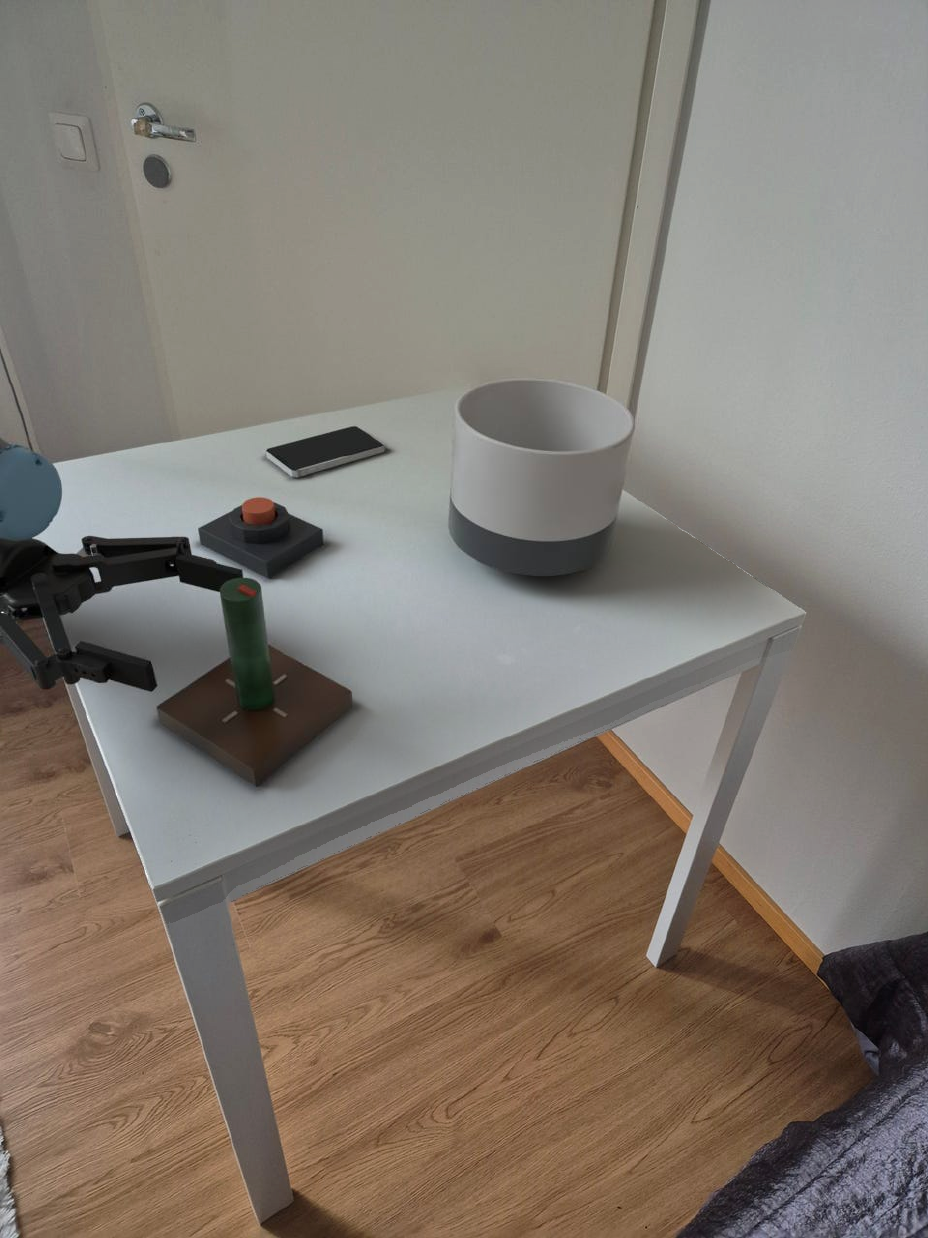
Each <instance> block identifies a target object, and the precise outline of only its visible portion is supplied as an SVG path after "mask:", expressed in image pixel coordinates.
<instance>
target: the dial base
mask: <svg viewBox="0 0 928 1238" xmlns="http://www.w3.org/2000/svg"><path fill="white" fill-rule="evenodd" d="M268 648H269V656H270V665H271V673H272V681H273V689H274V700H273V702H272V703H271V704H270V705H269V706H267V707H266V708H264V709H261V710H255V711H252V710H246V709H244V708H242V707H241V706H240V705H239V704H238V701H237V696H236V690H235V683H234V677H233V671H232V665H231V659H230V656H229V657H228V658H227V659H225V660H224V661H222V662H220V663H219V664H218V665H216V666H214V667H213V668H212V669H210V670H209V671H207V672H206V673H204V674H202V675H201V676H200V677H198V678H197V679H195V680H194V681H192V682H190V683H189V684H188V685H187V686H185V687H183V688H182V689H180V690H179V691H177V692H176V693H174V694H173V695H171V696H170V697H169V698H167V699H165V700H164V701H162V702H161V703H160V704H158V705H157V706H156V711H157V716H158V720H159V723H160V724H161V725H163V726H164V727H166V728H167V729H169V730H170V731H172V732H173V733H175V734H176V735H177V736H179V737H181V738H182V739H184V740H185V741H187V742H188V743H190V744H191V745H192V746H194V747H196V748H197V749H199V750H200V751H202V752H203V753H204V754H206V755H207V756H209V757H210V758H212V759H213V760H214V761H217V762H218V763H220V764H221V765H223V766H224V767H226V768H227V769H229V770H230V771H231V772H233V773H235V774H236V775H237V776H239V777H241V778H242V779H244V780H245V781H247V782H248V783H249V784H251V785H252V786H254V787H258V786H259V785H261V784H262V783H263V782H264V781H266V780H267V779H268V778H269V777H270V776H272V775H273V773H275V772H276V771H278V769H280V768H281V767H282V766H283V765H284V764H286V763H287V762H288V761H289V760H290V759H291V758H293V757H294V756H295V755H296V754H297V753H299V752H300V751H301V750H302V749H304V748H305V747H306V746H307V745H308V744H309V743H311V742H312V741H313V740H314V739H316V737H318V736H319V735H320V734H322V733H323V732H324V731H325V730H327V728H329V727H330V726H331V725H332V724H334V723H335V722H336V721H337V720H338V719H339V718H341V716H343V715H344V714H345V713H347V711H348V710H350V709H351V708H352V707H353V691H352V690H351V689H349V688H347V687H346V686H344V685H342V684H340V683H338V682H337V681H335V680H334V679H332V678H330V677H329V676H326V675H324V674H322V673H321V672H319V671H317V670H315V669H313V668H312V667H310V666H308V665H306V664H304V663H303V662H301V661H299V660H298V659H296V658H294V657H292V656H290V655H288V654H287V653H285V652H283V651H282V650H280V649H278V648H276V647H274V646H272V645H271V644H269V643H268Z"/></svg>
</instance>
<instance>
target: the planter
mask: <svg viewBox="0 0 928 1238" xmlns="http://www.w3.org/2000/svg"><path fill="white" fill-rule="evenodd" d="M453 411H454V412H453V432H452V449H451V468H450V485H449V486H450V488H449V507H448V524H447V525H448V531H449V532H448V533H449V534H450V537H451V539H452V541H453V542H454V544H455V545H456V546H457V547H458V548H459V550H461V551H462V552H463V553H464V554H465V555H467V556H469V557H470V558H471V559H473V560H475V561H477V562H479V563H481V564H482V565H486V566H488V567H490V568H493V569H495V570H498V571H502V572H505V573H510V574H515V575H522V576H532V577H554V576H555V577H556V576H563V575H569V574H573V573H578V572H580V571H584V570H586V569H589V568H590V567H593V566H595V565H596V564H597V563H599V562H601V560H602V559H603V558H605V556H606V555H607V554H608V552H609V551H610V549H611V547H612V543H613V538H614V533H615V529H616V523H617V519H618V514H619V509H620V504H621V498H622V493H623V489H624V484H625V478H626V475H627V469H628V464H629V460H630V455H631V450H632V445H633V439H634V435H635V429H636V421H635V418H634V416H633V414H632V413H631V411H630V410H629V408H628V407H626V405H624V404H623V403H622V402H620V401H619V400H618V399H616V398H614V397H613V396H611V395H609V394H606V393H605V392H602V391H599V390H597V389H594V388H592V387H589V386H585V385H582V384H579V383H574V382H569V381H564V380H557V379H551V378H537V377H519V378H518V377H516V378H515V377H514V378H505V379H504V378H503V379H499V380H492V381H487V382H484V383H481V384H478V385H475V386H474V387H471V388H470V389H468V390H466V391H464V393H462V394H461V395H460V396H459V397H458V399H457V400H456V402H455V404H454V410H453Z"/></svg>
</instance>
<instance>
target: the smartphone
mask: <svg viewBox="0 0 928 1238" xmlns="http://www.w3.org/2000/svg"><path fill="white" fill-rule="evenodd" d="M385 447H386V446H385V443H383V442H382V441H380V440H379V439H377V438H375V436H373V435H371V434H369V433H367V432H366V431H365V430H363V429H362V428H360V427H358V426H357V425H352V426H348V427H344V428H340V429H336V430H333V431H329V432H325V433H322V434H318V435H314V436H310V437H306V438H302V439H299V440H295V441H290V442H287V443H283V444H279V445H276V446H273V447H269V448H266V450H265V456H266V458H267V459H268V460H270V461H271V462H272V463H274V464H275V465H276V466H277V467H279V468H280V469H281V470H282V471H284V472H285V473H286V474H288V475H289V476H290V477H291V478H299V477H304V476H306V475H310V474H314V473H317V472H320V471H323V470H327V469H330V468H335V467H337V466H342V465H344V464H348V463H351V462H354V461H358V460H362V459H365V458H369V457H371V456H374V455H375V456H376V455H379V454H381V453H384V452H385V450H386V449H385Z"/></svg>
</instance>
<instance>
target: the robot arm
mask: <svg viewBox="0 0 928 1238" xmlns="http://www.w3.org/2000/svg"><path fill="white" fill-rule="evenodd" d="M62 498H63V486H62V480H61V476H60V474H59V472H58V469H57V468H56V467H55V464H53V463H52V461H51V460H49V458H47V457H46V456H44V455H42V454H41V453H38V452H35V451H33V450H30V449H29V448H28V447H25V446H24V445H21V444H15V443H14V444H13V443H12V444H10V443H9V442H7V441H6V440H4V439H3V438H2V437H0V645H2V646H4V647H5V648H6V649H7V650H8V651H9V653H10V654H11V655H12V656H13V657H14V658H15V660H16V661H17V663H18V664H19V665H20V666H21V667H22V669H24V671H25V672H26V673H27V674H28V675H29V676H30V678H31V679H32V680H33V681H34V682H35V684H36V685H37V686H38V687H39V688H40V689H41V690H44V691H46V690H51V689H53V688H54V687H55V686H56V685H57V681H58V680H60V679H61V678H63V681H64V683H65V684H67V685H76V684H77V683H79V682H80V681H81V679H84V680H88V681H91V682H93V683H98V684H107V683H108V682H109V681H112V682H116V683H119V684H122V685H125V686H129V687H133V688H136V689H139V690H143V691H146V692H148V693H153V692H154V691H155V690H156V689H157V687H158V683H157V677H156V674H155V670H154V666H153V662H152V660H150V659H146V658H143V657H140V656H137V655H136V656H135V655H132V654H128V653H125V652H122V651H117V650H115V649H112V648H108V647H104V646H100V645H97V644H93V643H90V642H86V641H83V640H80V641H79V642H78V643H77V644H76V645H75V646H74V650H75V651H74V650H73V649H72V645H71V643H70V641H69V638H68V635H67V632H66V629H65V627H64V623H63V620H62V618H61V616H64V615H67V614H69V613H70V614H74V613H75V612H76V611H77V610H79V608H80V607H81V606H82V605H83V604H84V603H86V602H88V601H89V600H91V599H92V598H93V597H94V596H96V595H99V594H105V593H109V592H111V591H112V590H113V588H114V587H120V586H126V585H132V584H138V583H139V584H140V583H144V582H150V581H156V580H163V579H169V578H174V577H178V579H179V583H182V584H186V585H190V586H193V587H196V588H200V589H205V590H208V591H213V592H217V593H220V588H221V586H222V585H223V584H224V583H226V582H227V581H229V580H232V579H235V578H244V571H243V569H241V568H237V567H233V566H230V565H226V564H221V563H217V561H215V560H214V559H211V558H207V557H202V556H199V555H195V554H192V548H191V543H190V539H189V537H187V536H157V537H155V536H154V537H120V538H119V537H117V538H116V537H115V538H106V537H101V536H95V535H86V536H83V537H82V538H81V543H82V548H81V549H79V550H78V551H77V552H76V553H73V552H72V553H71V552H70V553H60V552H58V551H56V550H55V549H53V548H52V547H51V546H50V545H48V544H47V543H46V542H44V541H42V540H40V539H37V538H35V537H37V536H39V535H41V534H43V532H44V531H45V530H47V529H48V527H49V526H50V525H51V523H52V522H53V520H54V518H55V517H56V516H57V515H58V513H59V510H60V508H61V503H62ZM92 568H96V569H97V571H98V573H99V574H98V576H99V579H100V581H96V580H95V577H94V573H93V572H92V570H91V569H92ZM36 619H38V620H39V619H43V620H44V624H45V627H46V630H47V633H48V636H49V639H50V642H51V645H52V648H53V650H54V654H52V655H50V656H49V657H47V656H46V654H44V652H43V651H42V650H41V649H40V648H39V647H38V646H37V645H36V643H35V642H34V641H33V640H32V639H31V638H30V636H29V635H28V634H27V633H26V632H25V631H24V630H23V628H22V627H21V626H20V625H19V624H18V621H30V620H36Z"/></svg>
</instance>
